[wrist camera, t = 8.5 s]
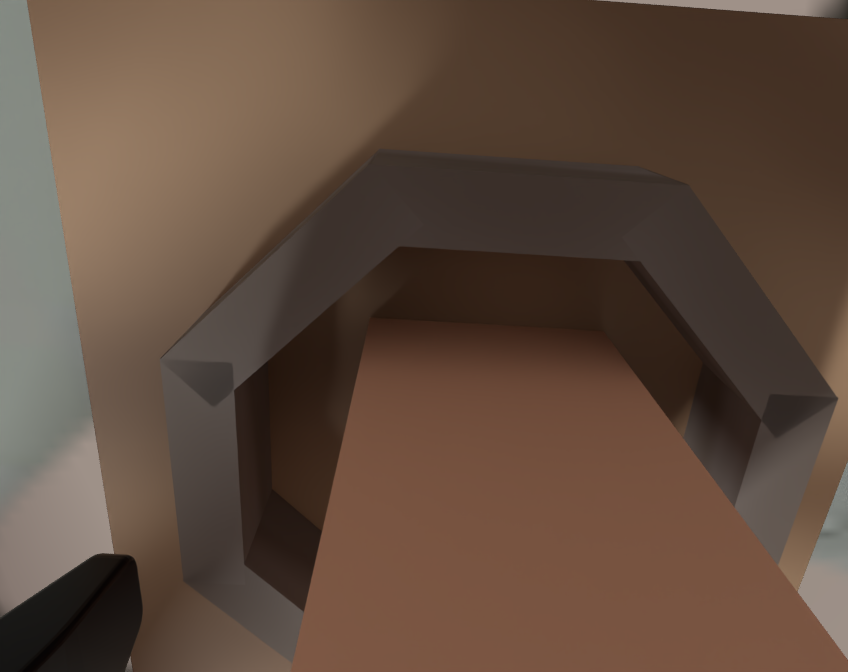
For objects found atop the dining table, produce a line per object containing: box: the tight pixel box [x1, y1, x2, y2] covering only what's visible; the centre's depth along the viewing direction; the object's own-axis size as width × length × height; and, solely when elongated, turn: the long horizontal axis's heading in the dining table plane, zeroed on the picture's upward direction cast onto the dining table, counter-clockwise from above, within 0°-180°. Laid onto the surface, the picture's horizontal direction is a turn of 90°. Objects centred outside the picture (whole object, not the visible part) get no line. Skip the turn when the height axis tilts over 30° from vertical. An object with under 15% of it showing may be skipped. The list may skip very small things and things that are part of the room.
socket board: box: [27, 0, 848, 672], centre depth 11 cm, size 14×14×3 cm
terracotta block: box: [291, 318, 848, 672], centre depth 7 cm, size 4×4×8 cm
